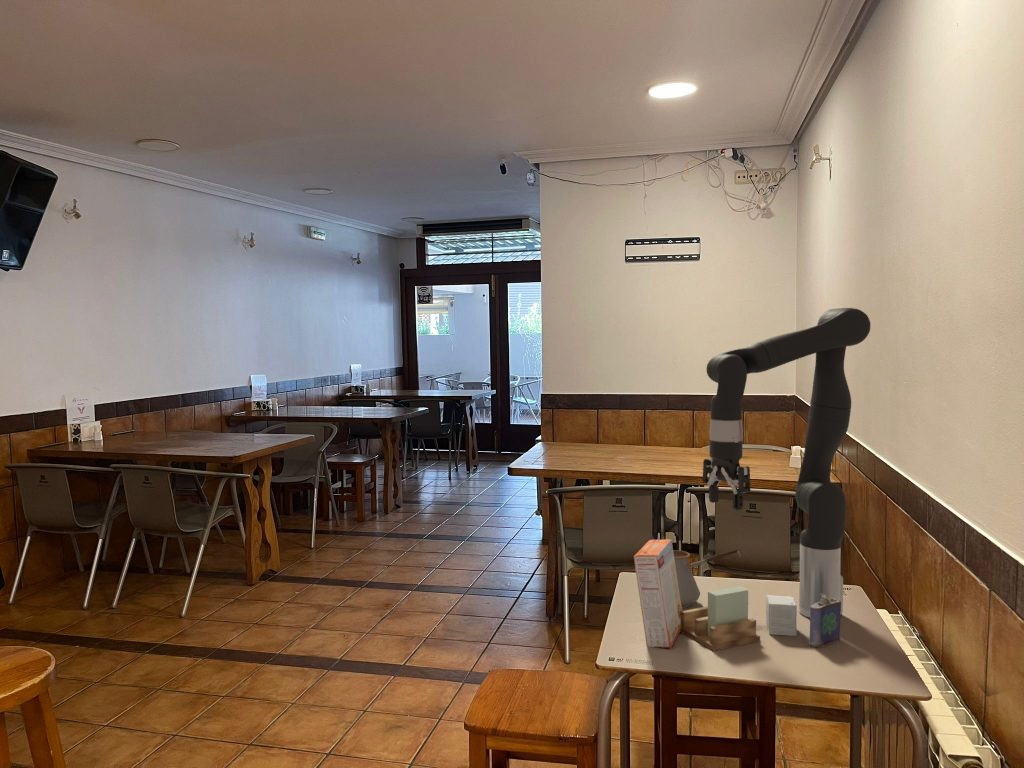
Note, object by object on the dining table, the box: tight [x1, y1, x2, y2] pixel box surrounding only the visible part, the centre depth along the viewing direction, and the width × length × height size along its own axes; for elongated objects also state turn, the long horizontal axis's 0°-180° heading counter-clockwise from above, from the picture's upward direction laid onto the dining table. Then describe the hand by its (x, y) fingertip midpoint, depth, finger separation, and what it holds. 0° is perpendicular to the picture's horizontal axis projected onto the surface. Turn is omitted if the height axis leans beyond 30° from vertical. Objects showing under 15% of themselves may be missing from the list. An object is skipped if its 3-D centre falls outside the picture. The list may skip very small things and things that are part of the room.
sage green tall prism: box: [707, 585, 749, 636], centre depth 164 cm, size 3×9×10 cm, turn 113°
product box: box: [765, 594, 798, 637], centre depth 168 cm, size 6×6×7 cm
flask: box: [809, 594, 841, 649], centre depth 162 cm, size 9×3×11 cm, turn 121°
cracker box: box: [633, 538, 683, 649], centre depth 166 cm, size 14×6×21 cm, turn 155°
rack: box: [680, 605, 761, 651], centre depth 166 cm, size 13×13×4 cm
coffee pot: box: [673, 548, 742, 609], centre depth 186 cm, size 21×12×15 cm, turn 75°
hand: (725, 505), depth 173 cm, fingers open, 8 cm apart
